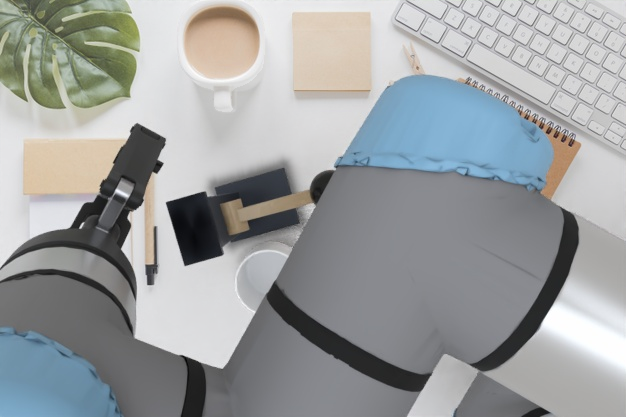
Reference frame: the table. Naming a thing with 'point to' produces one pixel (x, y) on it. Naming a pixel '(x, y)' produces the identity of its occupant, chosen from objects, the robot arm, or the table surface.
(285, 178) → the footplate
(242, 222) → the lever
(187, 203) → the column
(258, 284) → the mug
